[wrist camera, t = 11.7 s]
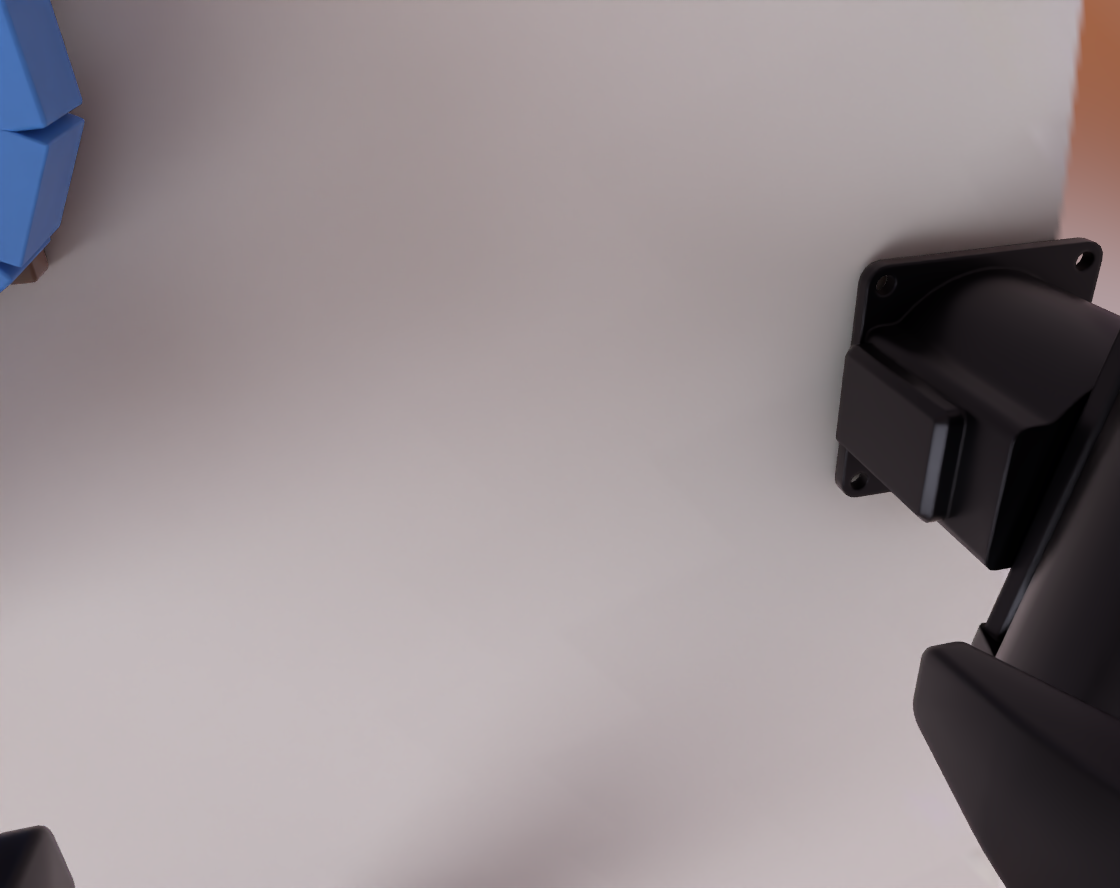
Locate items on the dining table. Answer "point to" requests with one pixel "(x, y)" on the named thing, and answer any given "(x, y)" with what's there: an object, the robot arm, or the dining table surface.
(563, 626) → the dining table surface
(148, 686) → the dining table surface
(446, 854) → the dining table surface
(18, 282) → the stand
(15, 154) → the tape roll
